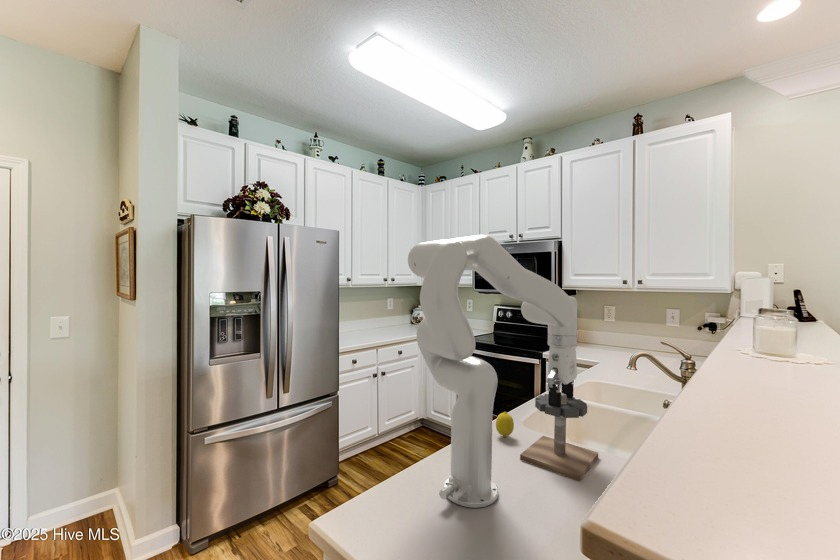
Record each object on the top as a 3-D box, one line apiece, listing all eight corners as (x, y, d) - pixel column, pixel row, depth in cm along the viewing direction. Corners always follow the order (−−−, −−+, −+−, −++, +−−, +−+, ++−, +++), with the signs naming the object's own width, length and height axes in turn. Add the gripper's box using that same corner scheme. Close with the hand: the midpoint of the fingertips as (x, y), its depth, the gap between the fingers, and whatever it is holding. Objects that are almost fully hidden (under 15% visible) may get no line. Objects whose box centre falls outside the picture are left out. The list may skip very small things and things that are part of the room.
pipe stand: (580, 481, 91) (581, 409, 91) (520, 459, 102) (521, 395, 102) (598, 457, 104) (599, 394, 103) (542, 440, 114) (544, 382, 114)
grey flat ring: (577, 422, 93) (577, 414, 93) (528, 409, 102) (528, 402, 102) (592, 408, 103) (592, 401, 103) (546, 397, 112) (546, 391, 112)
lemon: (502, 431, 120) (503, 407, 120) (517, 437, 116) (517, 412, 115) (491, 436, 116) (492, 411, 116) (506, 442, 112) (506, 416, 112)
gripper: (564, 346, 93) (563, 413, 94) (585, 337, 106) (584, 396, 107) (536, 343, 98) (535, 406, 98) (559, 334, 111) (559, 391, 112)
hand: (561, 401), depth 103 cm, fingers open, 9 cm apart
